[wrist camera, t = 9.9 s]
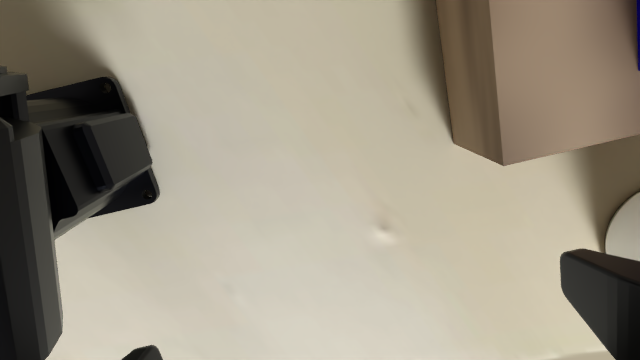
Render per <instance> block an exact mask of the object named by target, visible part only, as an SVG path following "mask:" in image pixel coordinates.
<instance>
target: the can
mask: <svg viewBox="0 0 640 360" xmlns="http://www.w3.org/2000/svg"><path fill="white" fill-rule="evenodd" d="M605 247H606V254H610V255H614V256H619V257H623V258H628V259H632V260H637V261H640V192H638V193H636V194H634V195H633V196H632V197H630V198H629V199H628V200H627V201H625V202H624V203H623V204H622V205H621V206H620V208H619V209H618V210H617V211H616V213H615V214H614V216H613V217H612V219H611V221H610V223H609V225H608V228H607V232H606V237H605Z"/></svg>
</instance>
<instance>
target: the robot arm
mask: <svg viewBox="0 0 640 360" xmlns="http://www.w3.org/2000/svg"><path fill="white" fill-rule="evenodd" d="M105 83H108V84H109V85H110V86H111V91H110V92H109V93H108V92H107V91H106V90H105V88H104V86H105ZM28 90H29V87H28V79H27V74H24V73H14V72H7V67H6V66H0V360H45V359H46V358H47V357H48V356H49V354H50V353H51V351H52V349H53V348H54V346H55V344H56V343H57V341H58V339H59V337H60V336H61V334H62V327H63V311H62V302H61V294H60V285H59V276H58V268H57V259H56V250H55V242H54V240H55V239H57V238H58V237H60V236H61V235H63V234H64V233H66V232H67V231H69V230H70V229H72V228H73V227H75V226H76V225H78V224H79V223H81V222H83V221H84V220H86V219H87V218H91V217H95V216H100V215H104V214H108V213H112V212H117V211H121V210H125V209H129V208H134V207H138V206H142V205H146V204H151V203H153V202H154V201H156V200H157V199H158V197H159V195H160V192H159V188H158V185H157V183H156V180H155V178H154V175H153V172H152V170H151V165H152V159H151V156H150V154H149V151H148V148H147V146H146V143H145V140H144V138H143V135H142V132H141V130H140V127H139V124H138V122H137V119H136V117H135V116H134V115H132V114H131V113H130V111H129V109H128V106H127V103H126V101H125V98H124V95H123V93H122V90H121V87H120V85H119V83H118V81H116V80H115V79H114V78H111V77H100V78H96V79H92V80H88V81H84V82H79V83H75V84H71V85H67V86H63V87H59V88H55V89H51V90H47V91H43V92H38V93H34V94H30V95H26V91H28ZM145 190H149V191H150V192H151V193H152V197H149V196H147V195H146V194H145ZM560 273H561V287H562V291H563V293H564V295H565V297H566V298H567V299H568V301H569V302H570V303H571V304H572V306H573V307H574V308H575V310H576V311H577V312H578V313H579V315H580V316H581V317H582V318H583V320H584V321H585V322H586V323H587V325H588V326H589V327H590V328H591V330H592V331H593V332H594V333H595V335H596V336H597V337H598V339H599V340H600V341H601V342H602V344H603V345H604V346H605V347H606V349H607V350H608V351H609V352H610V353H611V355H612V356H613V357H614V358H615V359H616V360H640V261H637V260H632V259H628V258H623V257H619V256H614V255H610V254H605V253H601V252H596V251H592V250H587V249H576V250H572V251H567V252H564V253H563V254H562V255H561V257H560ZM122 360H163V359H162V356H161V354H160V352H159V350H158V348H157V347H156V346H154V345H149V346H145V347H140V348H137V349H134V350H133V351H132V352H130V353H129V354H128V355H127V356H125V357H124V358H123V359H122Z"/></svg>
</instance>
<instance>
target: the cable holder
mask: <svg viewBox="0 0 640 360" xmlns="http://www.w3.org/2000/svg"><path fill="white" fill-rule="evenodd" d="M637 42H638V71H640V0H637Z"/></svg>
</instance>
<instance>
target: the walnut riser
mask: <svg viewBox="0 0 640 360" xmlns="http://www.w3.org/2000/svg"><path fill="white" fill-rule="evenodd" d="M436 7H437V15H438V23H439V31H440V39H441V47H442V54H443V62H444V70H445V78H446V86H447V94H448V102H449V110H450V118H451V126H452V133H453V141H454V144H456V145H458V146H460V147H463V148H465V149H467V150H469V151H471V152H474V153H476V154H478V155H480V156H483V157H485V158H487V159H489V160H491V161H494V162H496V163H498V164H500V165H503V166H506V165H510V164H514V163H519V162H523V161H527V160H531V159H536V158H540V157H544V156H549V155H553V154H557V153H562V152H566V151H570V150H575V149H579V148H583V147H587V146H592V145H596V144H600V143H605V142H609V141H613V140H618V139H622V138H626V137H630V136H635V135H639V134H640V71H638V42H637V0H436Z"/></svg>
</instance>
